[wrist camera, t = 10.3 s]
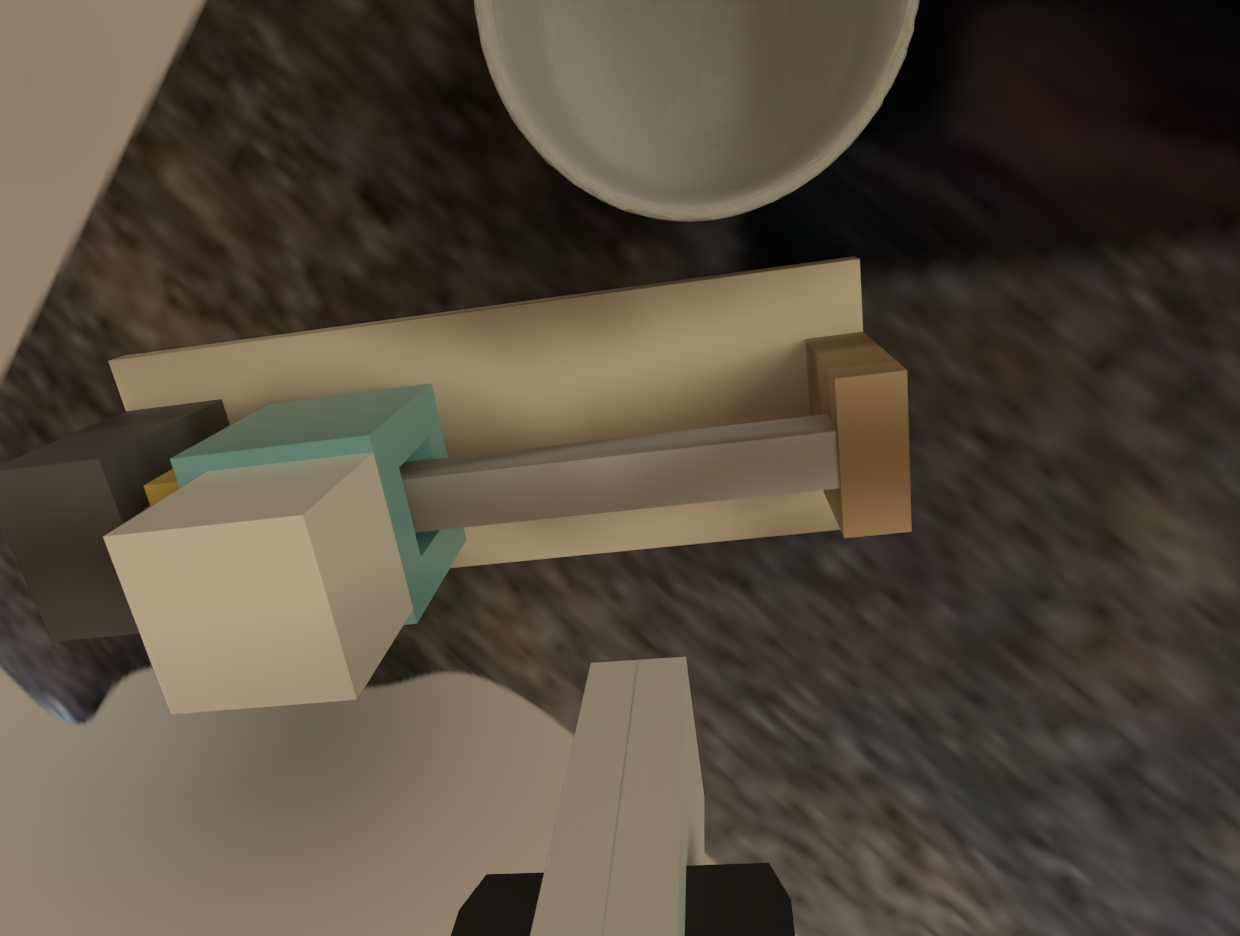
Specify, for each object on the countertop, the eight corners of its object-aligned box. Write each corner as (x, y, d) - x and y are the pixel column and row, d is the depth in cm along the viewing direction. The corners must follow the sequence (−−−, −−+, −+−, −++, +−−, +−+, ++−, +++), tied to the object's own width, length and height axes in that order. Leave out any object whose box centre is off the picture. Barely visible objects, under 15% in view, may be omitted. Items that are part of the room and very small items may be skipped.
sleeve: (269, 403, 29) (56, 521, 19) (431, 383, 28) (297, 494, 18) (313, 555, 31) (141, 733, 21) (466, 539, 30) (361, 716, 20)
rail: (125, 355, 32) (-47, 410, 24) (854, 256, 29) (914, 285, 21) (203, 582, 35) (73, 692, 28) (866, 516, 32) (922, 620, 24)
